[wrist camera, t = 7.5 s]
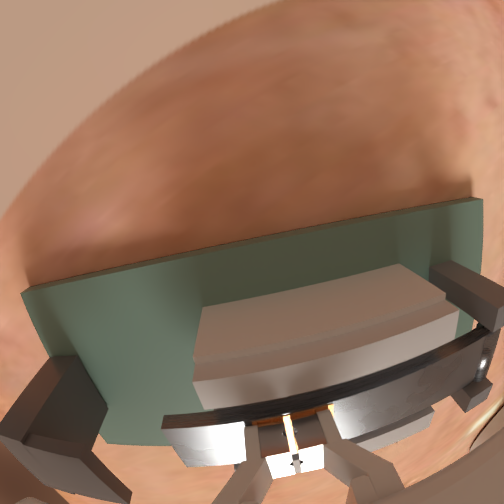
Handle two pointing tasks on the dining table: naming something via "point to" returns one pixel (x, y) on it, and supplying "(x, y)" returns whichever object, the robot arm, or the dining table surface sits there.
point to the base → (174, 287)
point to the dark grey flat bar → (339, 402)
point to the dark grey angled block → (62, 431)
